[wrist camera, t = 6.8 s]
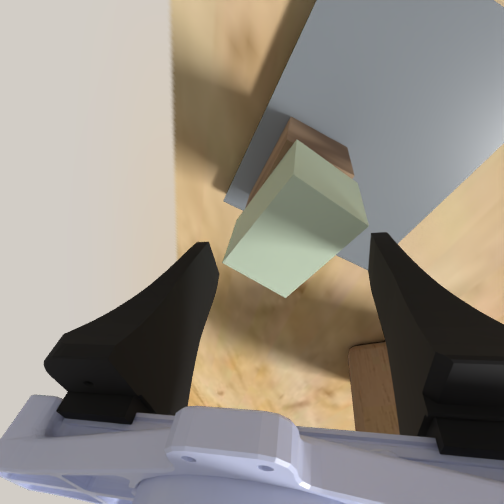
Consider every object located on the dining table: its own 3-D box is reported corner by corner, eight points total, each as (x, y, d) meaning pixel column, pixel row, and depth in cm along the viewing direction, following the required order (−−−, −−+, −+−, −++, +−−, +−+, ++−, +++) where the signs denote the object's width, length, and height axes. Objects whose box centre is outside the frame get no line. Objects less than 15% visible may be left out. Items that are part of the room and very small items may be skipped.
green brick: (357, 183, 16) (369, 226, 13) (289, 251, 20) (285, 298, 16) (296, 139, 15) (293, 174, 12) (236, 220, 19) (222, 262, 16)
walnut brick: (347, 147, 19) (354, 175, 16) (297, 218, 23) (295, 252, 19) (290, 116, 18) (286, 139, 15) (249, 194, 22) (239, 225, 19)
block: (366, 388, 38) (402, 642, 23) (344, 343, 33) (373, 632, 18) (456, 381, 35) (570, 680, 19) (447, 329, 29) (594, 681, 14)
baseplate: (569, 61, 16) (585, 65, 15) (366, 261, 26) (368, 270, 25) (357, -88, 13) (361, -95, 13) (226, 193, 23) (223, 201, 23)
